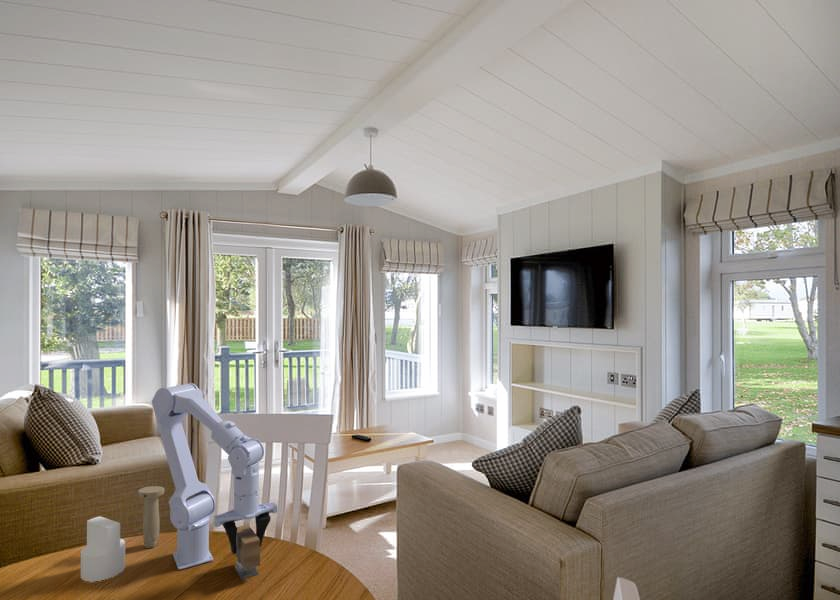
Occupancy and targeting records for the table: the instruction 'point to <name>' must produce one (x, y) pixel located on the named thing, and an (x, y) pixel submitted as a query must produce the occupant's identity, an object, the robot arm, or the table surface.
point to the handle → (151, 514)
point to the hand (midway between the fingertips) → (246, 548)
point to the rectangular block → (247, 547)
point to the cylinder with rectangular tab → (102, 550)
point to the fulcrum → (245, 571)
